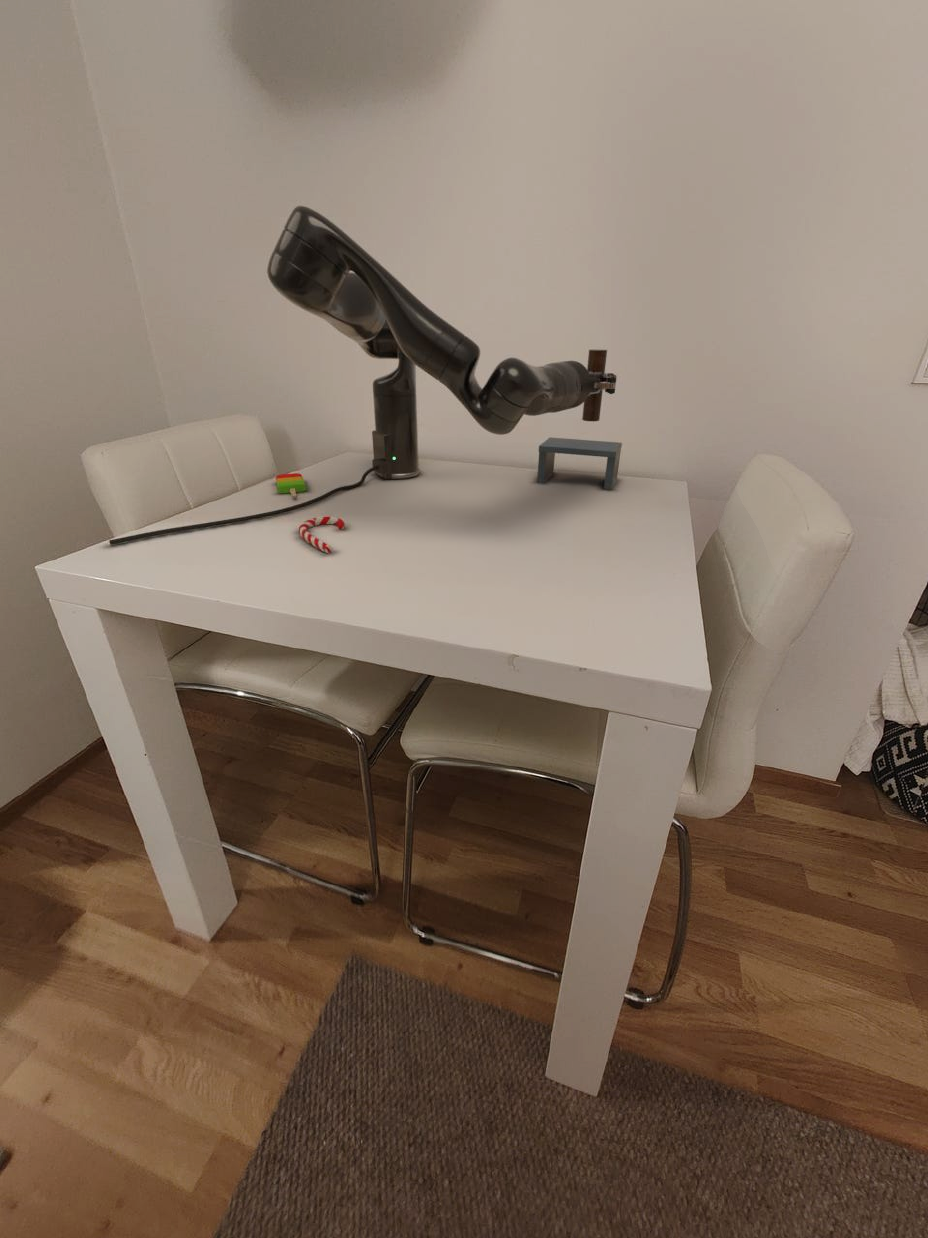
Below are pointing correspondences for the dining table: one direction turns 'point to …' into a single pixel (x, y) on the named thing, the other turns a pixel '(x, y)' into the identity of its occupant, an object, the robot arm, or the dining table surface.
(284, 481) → the popsicle
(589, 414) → the stick
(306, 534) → the candy cane
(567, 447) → the shelf
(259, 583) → the dining table surface
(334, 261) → the robot arm
